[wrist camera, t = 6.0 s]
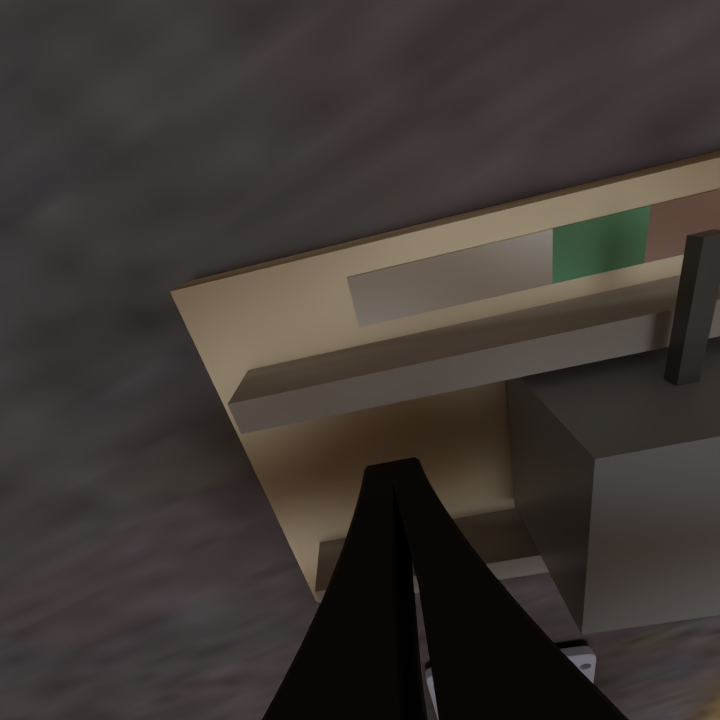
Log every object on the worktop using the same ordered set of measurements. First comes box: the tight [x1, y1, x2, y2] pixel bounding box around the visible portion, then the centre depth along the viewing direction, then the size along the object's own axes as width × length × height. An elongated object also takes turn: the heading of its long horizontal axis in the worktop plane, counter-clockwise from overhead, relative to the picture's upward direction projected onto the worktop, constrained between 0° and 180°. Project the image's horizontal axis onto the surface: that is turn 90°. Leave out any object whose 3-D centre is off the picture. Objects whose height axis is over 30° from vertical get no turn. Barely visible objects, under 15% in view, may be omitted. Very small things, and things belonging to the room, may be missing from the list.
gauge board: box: [170, 150, 720, 603], centre depth 9 cm, size 12×19×3 cm, turn 103°
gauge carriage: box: [507, 229, 720, 635], centre depth 7 cm, size 8×5×4 cm, turn 13°
